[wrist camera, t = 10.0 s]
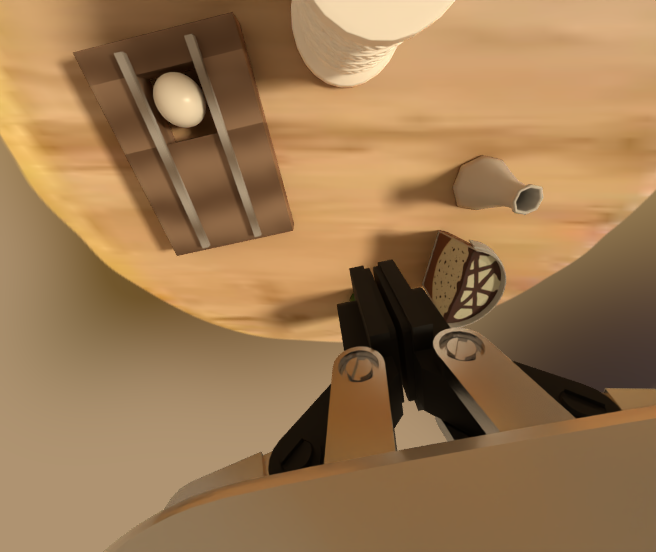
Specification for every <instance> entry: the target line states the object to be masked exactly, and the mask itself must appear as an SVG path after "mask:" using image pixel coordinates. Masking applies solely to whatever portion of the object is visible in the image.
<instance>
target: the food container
mask: <svg viewBox="0 0 656 552" xmlns="http://www.w3.org/2000/svg"><path fill="white" fill-rule="evenodd" d="M469 242H470V243H469ZM469 242H466V241H464V240H462V239H460V238H458V237H456V236H454V235H452V234H450V233H448V232H445V231H441V230H439V231H438V234H437V237H436V240H435V244H434V247H433V250H432V253H431V257H430V260H429V263H428V267H427V270H426V273H425V276H424V280H423V283H422V286H423V288H424V289H425V291H426V293H427V295H428V296H429V298H430V299H431V301H432V302H433V304H434V305H435V306H436V308H437V309H438V311H439V312H440V314H441V315H442V316H443V318H444V319H445V321H446V322H447V323H448V325H449V326H450V328H458V327H463V326H466V325H469V324H471V323H474V322H476V321H478V320H479V319H481V318H483V317H484V316H485V315H486V314H488V313H489V312H490V311H491V310H492V309H493V308H494V307H495V306H496V305H497V303H498V302H499V300H500V299H501V297H502V295H503V292H504V290H505V286H506V273H505V270H504V266H503V264H502V262H501V260H500V259H499V257H498V256H497V255H496V254H495V252H494V251H493V250H492V249H491V248H490V247H488V246H487V245H485V244H483V243H481V242H478V241H473V240H469Z"/></svg>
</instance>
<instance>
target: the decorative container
mask: <svg viewBox="0 0 656 552" xmlns="http://www.w3.org/2000/svg"><path fill="white" fill-rule="evenodd" d="M454 1H455V0H292V3H291V20H292V31H293V35H294V39H295V42H296V46H297V49H298V51H299V53H300V55H301V57H302V59H303V61H304V63H305V65H306V66H307V67H308V68H309V69H310V70H311V72H312V73H313V74H314V75H315V76H316V77H318V78H319V79H321V80H322V81H324V82H325V83H327V84H330V85H333V86H336V87H355V86H358V85H361V84H364V83H366V82H367V81H369V80H370V79H372V78H373V77H375V76H376V75H377V74H379V73H380V72H381V70H382V69H383V68H384V67H385V66H386V65H387V63H388V62H389V61H390V59H391V57H392V55H393V54H394V52H395V50H396V48H397V46H398V45H400V44H401V43H403V41H405V40H408V39H411V38H413V37H414V36H416V35H417V34H418V33H420V32H421V31H423V30H424V29H426V28H427V27H429V26H430V25H431V24H433V23H434V22H435V21H436V20H438V19H439V18H440V17H441V16H442V15H443V14H444V13H445V12H446V11H447V9H448V8H449V7H450V6H451V5H452V4H453V3H454Z"/></svg>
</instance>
